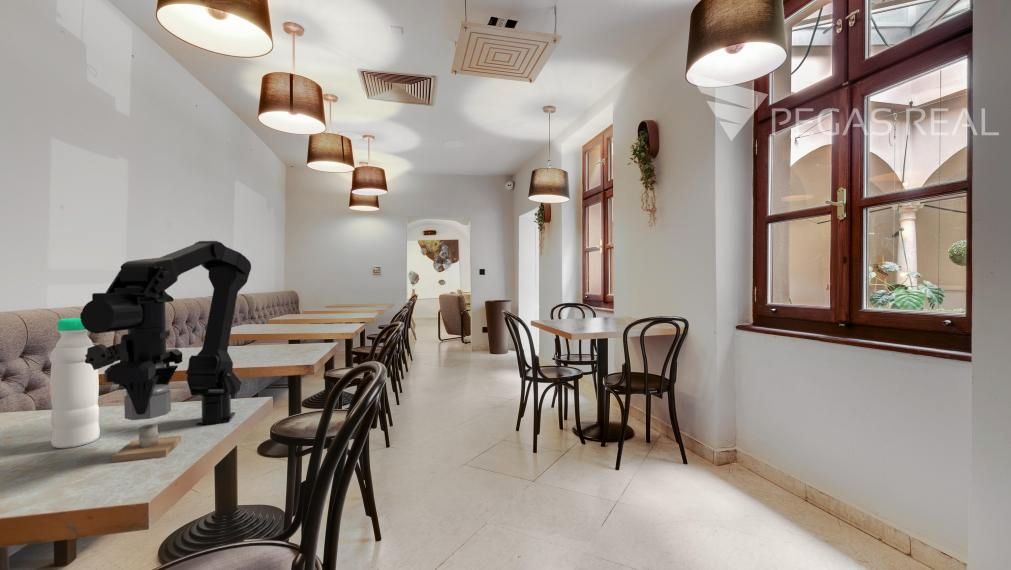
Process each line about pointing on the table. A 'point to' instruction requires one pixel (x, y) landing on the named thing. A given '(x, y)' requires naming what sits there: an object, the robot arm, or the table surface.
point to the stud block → (147, 445)
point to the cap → (151, 404)
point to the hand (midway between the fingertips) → (148, 409)
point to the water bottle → (73, 388)
